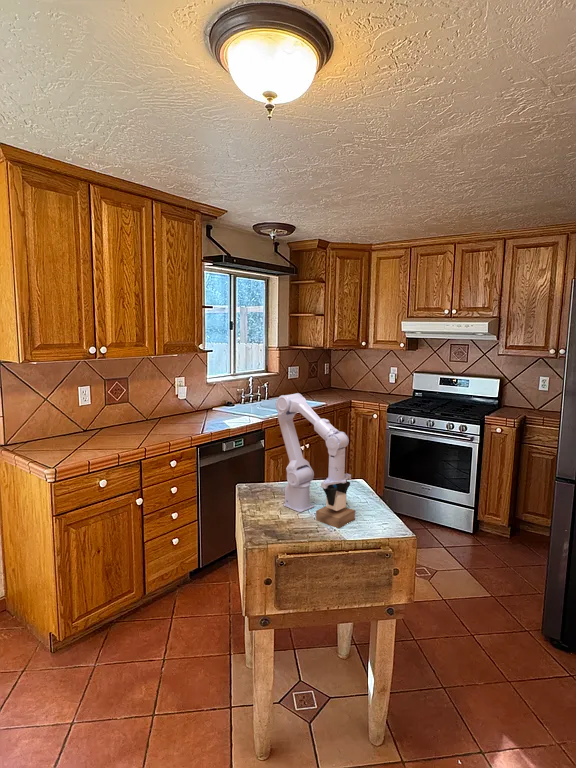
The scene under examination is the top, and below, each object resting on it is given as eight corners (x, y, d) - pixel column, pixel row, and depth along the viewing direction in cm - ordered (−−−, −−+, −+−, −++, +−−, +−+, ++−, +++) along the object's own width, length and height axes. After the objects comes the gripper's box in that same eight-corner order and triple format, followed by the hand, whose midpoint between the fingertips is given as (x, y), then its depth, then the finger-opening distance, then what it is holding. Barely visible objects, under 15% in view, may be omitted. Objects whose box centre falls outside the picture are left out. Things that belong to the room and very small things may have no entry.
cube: (326, 506, 163) (326, 493, 162) (335, 503, 167) (335, 490, 166) (337, 510, 160) (337, 497, 159) (345, 507, 163) (346, 493, 162)
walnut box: (316, 521, 163) (316, 510, 163) (332, 513, 171) (332, 502, 170) (338, 529, 157) (338, 518, 156) (354, 520, 164) (355, 510, 164)
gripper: (332, 473, 153) (331, 511, 155) (358, 464, 163) (357, 500, 165) (316, 468, 158) (316, 505, 160) (342, 460, 168) (342, 495, 170)
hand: (335, 502), depth 163 cm, fingers closed on cube, 5 cm apart
